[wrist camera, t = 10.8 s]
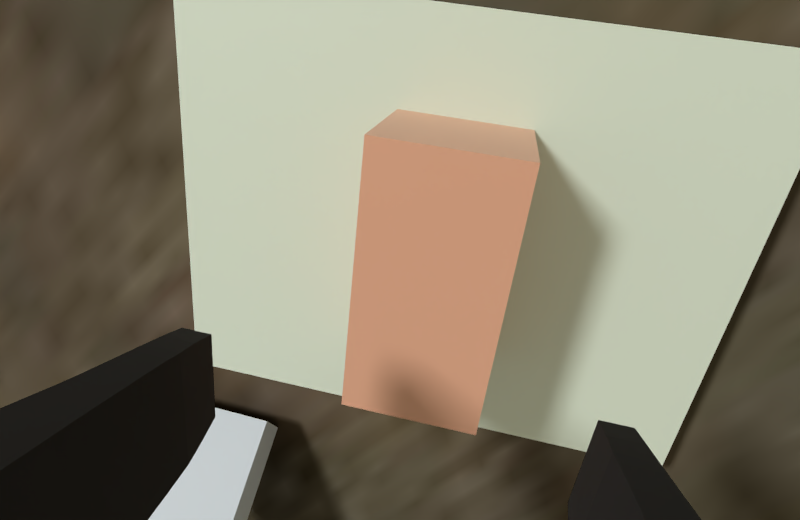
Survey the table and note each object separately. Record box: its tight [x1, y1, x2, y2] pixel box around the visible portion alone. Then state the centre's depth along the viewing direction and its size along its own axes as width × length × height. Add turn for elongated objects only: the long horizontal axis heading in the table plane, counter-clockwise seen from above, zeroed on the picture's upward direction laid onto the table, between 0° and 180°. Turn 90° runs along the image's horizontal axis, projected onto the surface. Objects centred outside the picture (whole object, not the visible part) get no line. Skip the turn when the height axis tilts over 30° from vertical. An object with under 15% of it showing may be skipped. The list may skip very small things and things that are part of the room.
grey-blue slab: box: [148, 408, 278, 520], centre depth 21 cm, size 6×4×2 cm
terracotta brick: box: [342, 109, 540, 435], centre depth 15 cm, size 8×4×4 cm, turn 173°
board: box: [173, 0, 800, 466], centre depth 17 cm, size 14×18×1 cm
